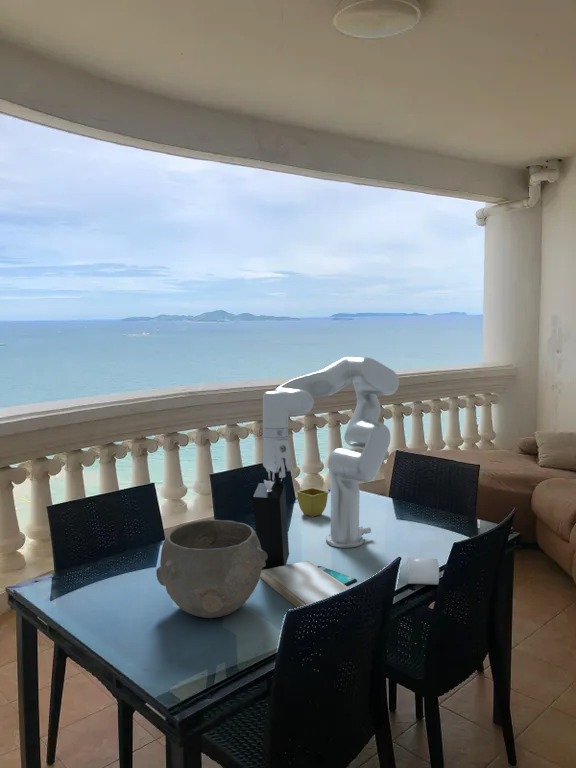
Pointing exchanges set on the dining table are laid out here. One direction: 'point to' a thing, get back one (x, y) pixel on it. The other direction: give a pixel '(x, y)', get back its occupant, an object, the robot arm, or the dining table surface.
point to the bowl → (211, 566)
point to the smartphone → (339, 576)
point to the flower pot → (312, 501)
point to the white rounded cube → (422, 571)
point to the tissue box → (272, 522)
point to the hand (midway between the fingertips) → (275, 493)
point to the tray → (302, 583)
